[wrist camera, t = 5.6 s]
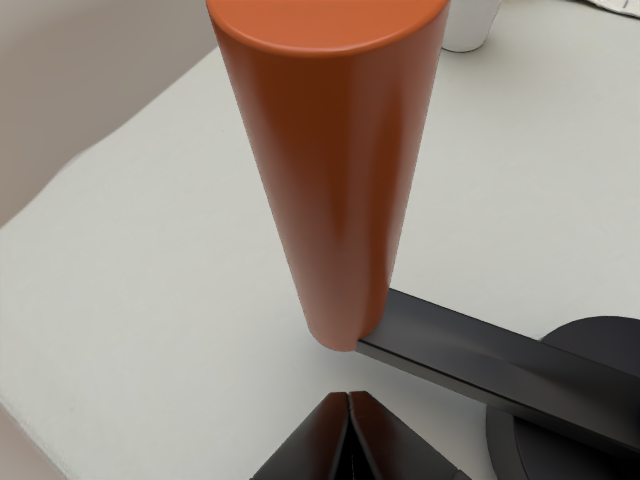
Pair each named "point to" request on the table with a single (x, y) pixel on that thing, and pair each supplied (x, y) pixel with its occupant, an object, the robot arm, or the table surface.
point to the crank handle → (387, 208)
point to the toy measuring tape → (620, 6)
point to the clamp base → (550, 447)
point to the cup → (469, 23)
